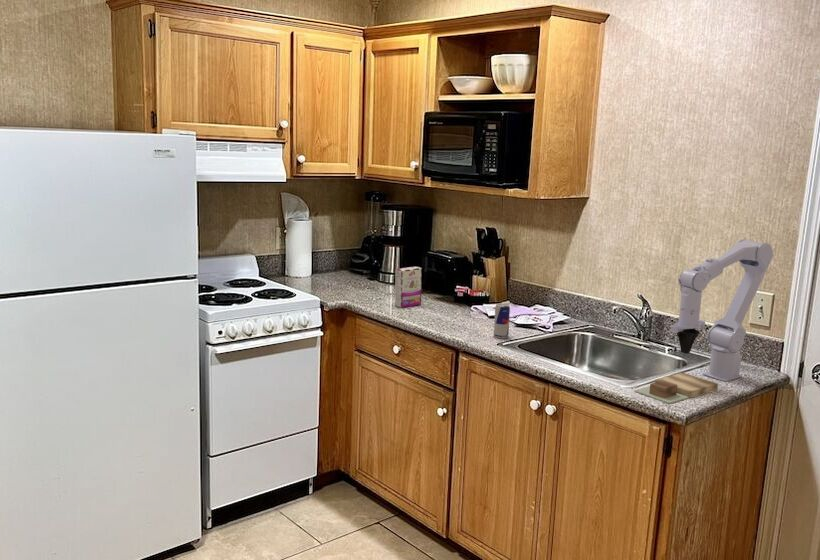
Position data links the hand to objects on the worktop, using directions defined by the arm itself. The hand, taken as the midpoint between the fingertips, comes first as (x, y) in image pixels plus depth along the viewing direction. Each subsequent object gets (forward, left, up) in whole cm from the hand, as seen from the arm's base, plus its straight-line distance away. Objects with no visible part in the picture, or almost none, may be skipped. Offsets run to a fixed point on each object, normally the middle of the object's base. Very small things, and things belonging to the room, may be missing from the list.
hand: (685, 352), depth 228 cm
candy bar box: (+15, -125, -10) cm, 126 cm away
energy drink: (+14, -67, -10) cm, 69 cm away
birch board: (+4, +4, -9) cm, 11 cm away
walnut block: (+16, +4, -9) cm, 19 cm away
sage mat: (+16, +4, -9) cm, 19 cm away
